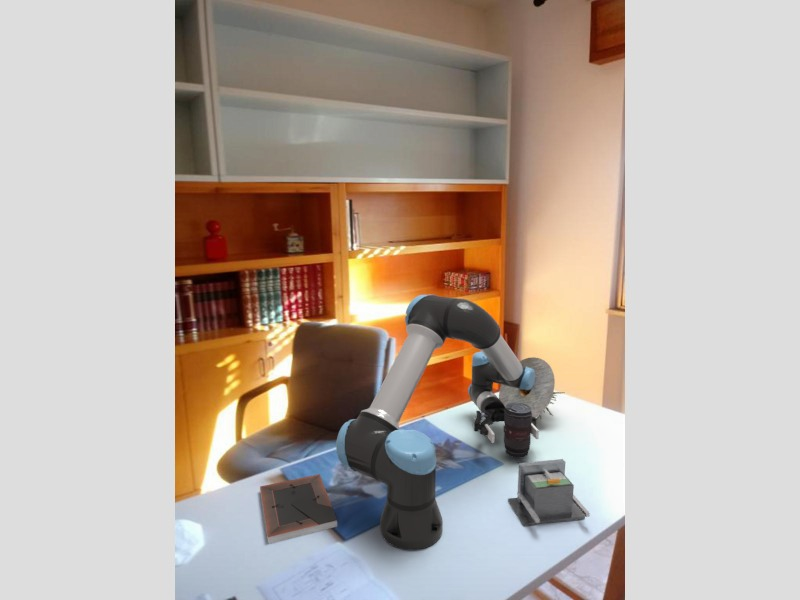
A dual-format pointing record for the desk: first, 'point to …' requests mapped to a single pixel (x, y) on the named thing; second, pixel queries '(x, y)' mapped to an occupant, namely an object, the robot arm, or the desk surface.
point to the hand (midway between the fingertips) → (515, 436)
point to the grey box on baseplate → (547, 500)
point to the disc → (533, 388)
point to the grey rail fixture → (546, 469)
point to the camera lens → (517, 429)
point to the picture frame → (296, 508)
